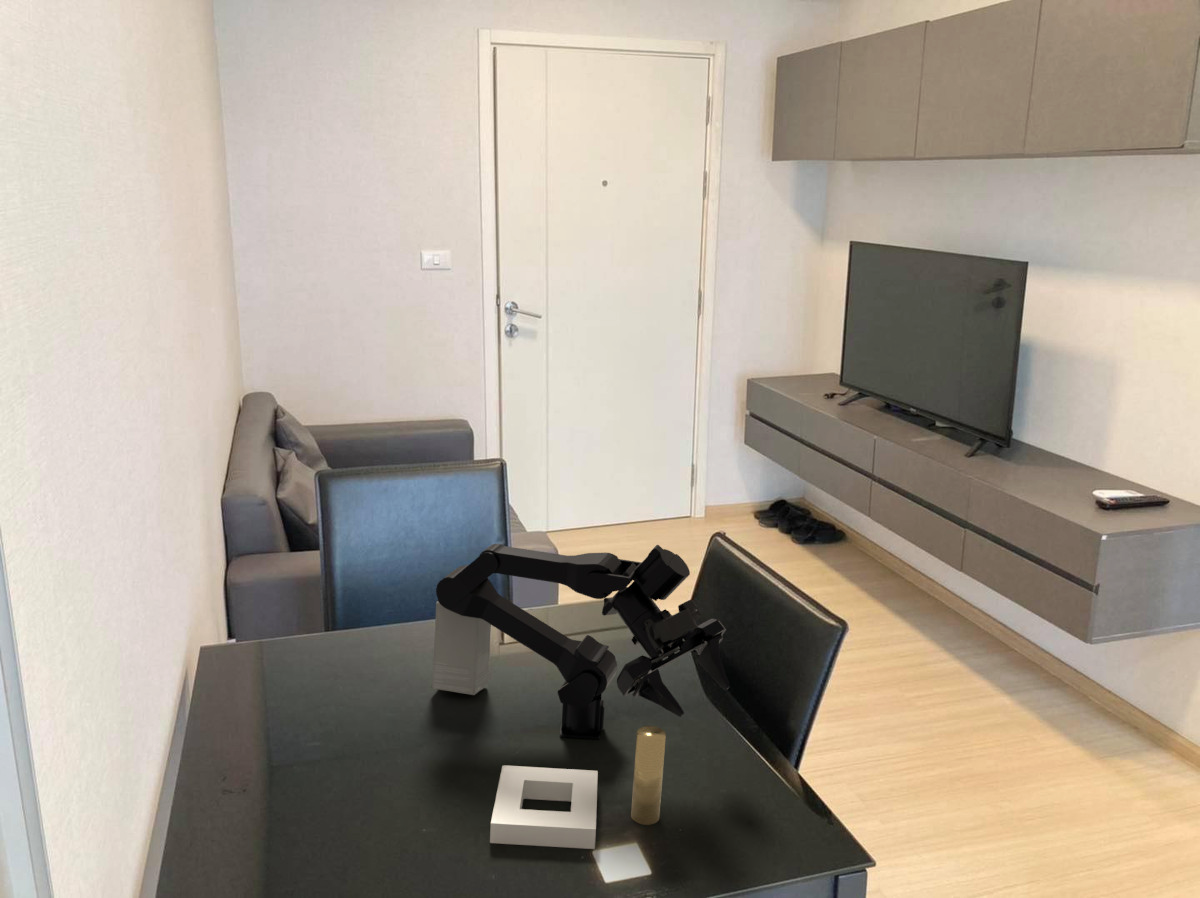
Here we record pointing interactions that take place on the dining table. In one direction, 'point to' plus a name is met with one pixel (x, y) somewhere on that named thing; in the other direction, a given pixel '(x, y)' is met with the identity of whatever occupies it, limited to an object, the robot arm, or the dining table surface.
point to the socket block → (538, 824)
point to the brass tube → (648, 775)
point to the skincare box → (460, 652)
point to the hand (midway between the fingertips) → (705, 701)
